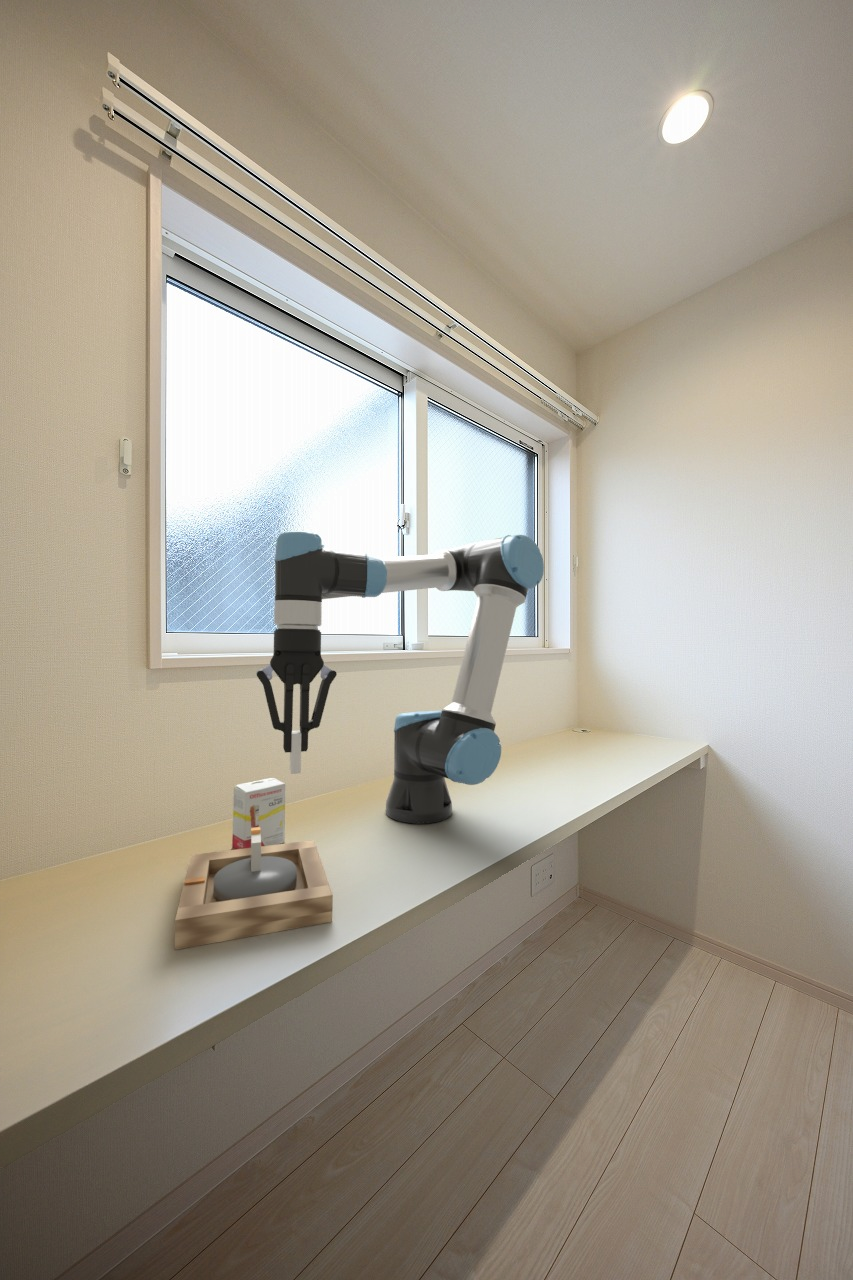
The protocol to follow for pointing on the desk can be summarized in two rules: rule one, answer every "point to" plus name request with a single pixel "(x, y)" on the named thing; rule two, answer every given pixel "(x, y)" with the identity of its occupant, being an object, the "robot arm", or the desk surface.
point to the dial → (254, 875)
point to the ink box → (259, 812)
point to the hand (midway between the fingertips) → (295, 771)
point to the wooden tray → (251, 898)
